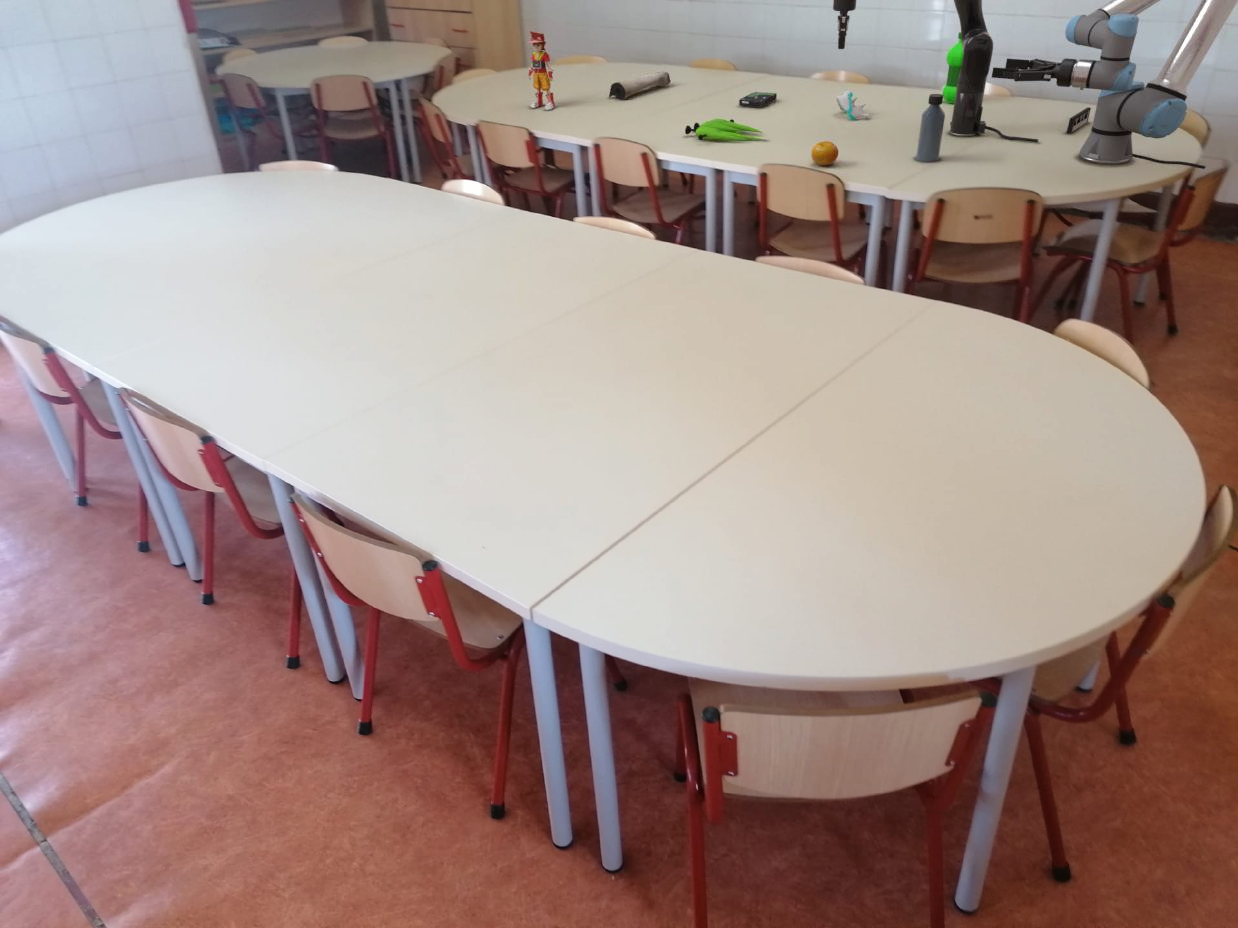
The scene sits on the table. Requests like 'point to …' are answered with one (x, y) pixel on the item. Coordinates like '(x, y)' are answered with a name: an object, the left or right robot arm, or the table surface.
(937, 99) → the cap
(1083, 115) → the midi keyboard
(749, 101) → the disk drive
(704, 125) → the toy
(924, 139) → the bottle
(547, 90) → the toy
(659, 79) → the rolled mat
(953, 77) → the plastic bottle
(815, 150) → the fruit
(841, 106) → the anatomical model
